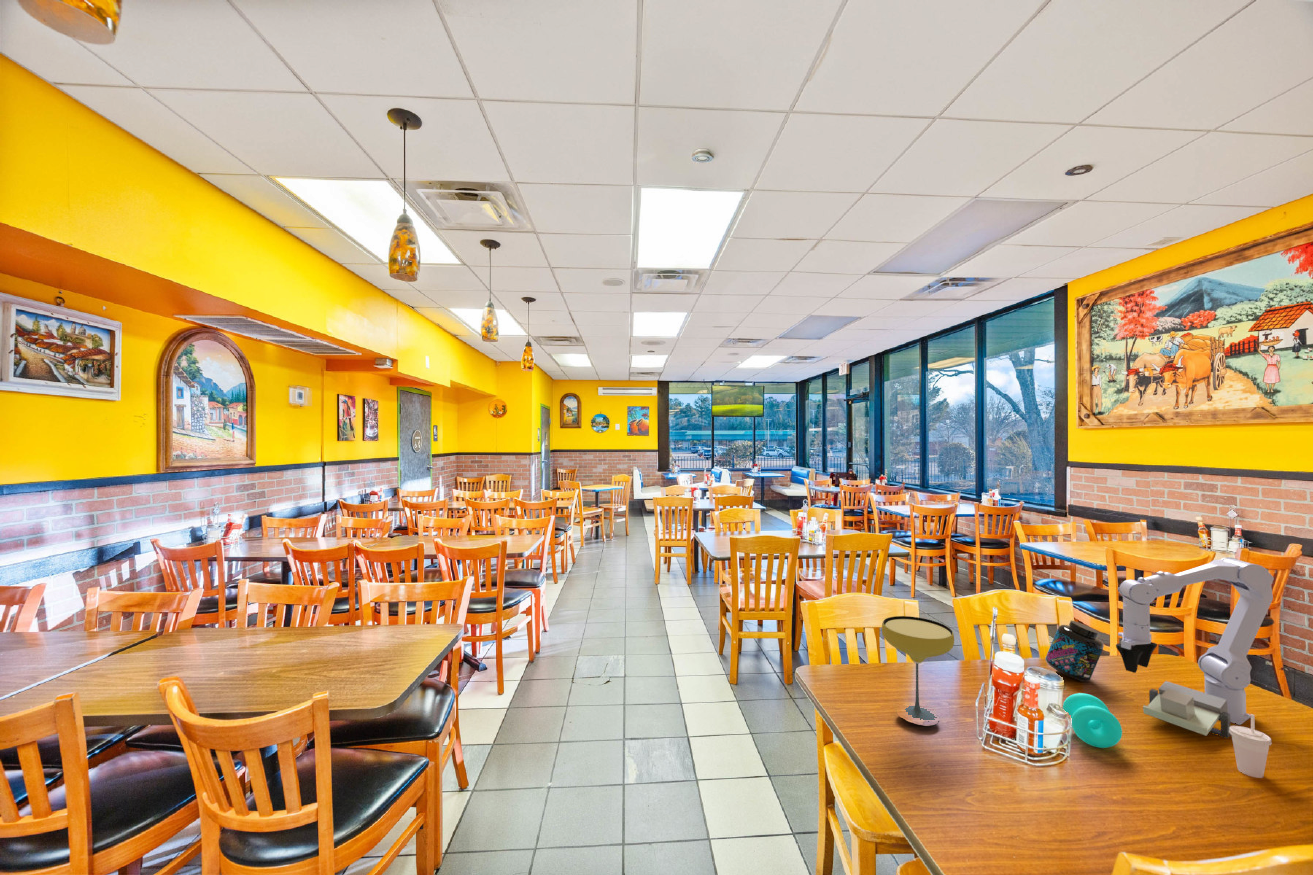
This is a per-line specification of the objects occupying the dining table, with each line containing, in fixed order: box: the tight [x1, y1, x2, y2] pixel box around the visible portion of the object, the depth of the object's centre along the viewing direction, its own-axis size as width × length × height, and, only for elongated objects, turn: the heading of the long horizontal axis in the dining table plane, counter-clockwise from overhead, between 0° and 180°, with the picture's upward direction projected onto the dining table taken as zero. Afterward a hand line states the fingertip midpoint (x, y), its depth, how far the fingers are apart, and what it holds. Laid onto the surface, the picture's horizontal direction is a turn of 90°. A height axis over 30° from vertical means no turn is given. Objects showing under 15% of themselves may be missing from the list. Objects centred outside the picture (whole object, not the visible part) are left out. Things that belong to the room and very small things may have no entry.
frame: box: [1148, 688, 1232, 739], centre depth 137 cm, size 2×15×6 cm, turn 28°
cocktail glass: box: [881, 615, 955, 722], centre depth 141 cm, size 18×18×25 cm
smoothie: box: [1229, 713, 1273, 779], centre depth 116 cm, size 6×6×14 cm
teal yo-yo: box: [1062, 692, 1123, 749], centre depth 130 cm, size 10×10×10 cm
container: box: [1045, 620, 1104, 682], centre depth 164 cm, size 12×12×17 cm
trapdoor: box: [1142, 680, 1228, 736], centre depth 136 cm, size 16×12×4 cm
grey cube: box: [1160, 689, 1195, 721], centre depth 135 cm, size 5×5×5 cm
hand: (1136, 668), depth 148 cm, fingers open, 7 cm apart
